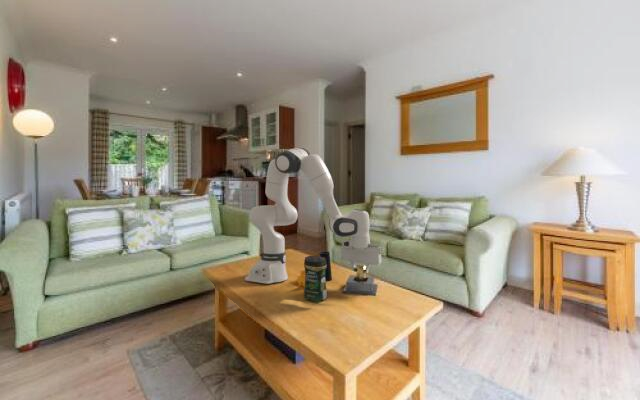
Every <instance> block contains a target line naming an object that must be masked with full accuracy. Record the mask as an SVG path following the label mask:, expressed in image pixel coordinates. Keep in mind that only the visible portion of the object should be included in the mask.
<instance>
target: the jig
mask: <svg viewBox="0 0 640 400" xmlns="http://www.w3.org/2000/svg"><path fill="white" fill-rule="evenodd" d="M377 290H378V284H377V283H375V276H372V275H371V276H370V275H369V276H368V275H366V277H365V281H356V275H354V274H353V275H352V274H350V275H349V276H348V278H347V280H346V283H345V286H344V288H343V289H342V293H344V294H354V295H355V294H356V295H365V296H376V295H377V292H378V291H377Z"/></svg>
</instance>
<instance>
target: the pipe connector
mask: <svg viewBox="0 0 640 400" xmlns="http://www.w3.org/2000/svg"><path fill="white" fill-rule="evenodd" d="M319 254H320V255H319V257H325V258H326V263H327V267H326V271H325V278H326V282H331V281H332V280H333V276H332V267H331V266H332V265H331V264H332V263H331V255H330V251H326V250H325V251H321V252H319Z"/></svg>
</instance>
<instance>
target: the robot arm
mask: <svg viewBox="0 0 640 400" xmlns="http://www.w3.org/2000/svg"><path fill="white" fill-rule="evenodd" d="M266 171H267V172H266V180H265V190H264V191H265V192H264V193H265V195H266V197H267V198H268V199H269V200H271V201H272V202H273V201H274V203H275V204H271V205H270V204H269V205H258V206H254V207H252V208H251V209H250V210H249V214H248V220H249V222H250V223H251V225H253V227H255V228H256V229H258V231H259V232H260V234H261V236H262V243H263V251H262V252H261V253H259V257H260V259H259V260H258V261H257V262H255V263H254V264H253V265H252V266H251V267H250V270H249V274H248V275H246V276H245V277H244V280H245V281H247V282H255V283H261V284H266V285H267V284H273V283H280V282H284V281H286V280H288V279H289V276H288V272H287V267H286V260H287V256H286V254H287V253H286V251H285V249H286V248H285V247H286V245H285V244H286V241H285V237H284V235H283V234H281V233H280V232H277V231H276V230H275V228H274V227H280V226H281V227H282V226H283V227H284V226H290V225H293V224H295V223H296V221H297V220H298V215H299V213H298V211H297V208H296V207H295V206H294V205H292V203H291V202H290V200H289V196H288V185H289V177H290V174H295V173H299V172H301V173H302V174H303V175H304V177H305V178H306V180H307V182H308V185H309V187H310V188H311V190H312V192H313V193H314V194H315V196H316V197H317V198H318V199H319V200H320V202H321V204H322V205H323V207H324V210H325V213H326V214H327V217H328V225H329V229H330V231H331V233H333V234H334V235H336V236H338V237H340V238H346V237H350V236H351V237H350V239H347V240H344V241H341V245H342V246H341V249H340V259H341V261H344V262H350V265H351V267H352V270H353V272H357V266H356V263H357V264H358V263H359V264H364V265H365V266H366V269H364V273H366V274H368V273H369V269H370V268H371V265H373V266H380V265H381V264H382V263H383V262H382V247H381V246H380V245H379V244H372V243H371V239H370V238H371V236H370V228H371V226H370V224H371V222H370V215H369V213H368V211H366V210H364V209H358V208H355V209H354V208H353V209H352V210H351V211H349V212H348V213H345V214H342V213H341V211H340V209H339V207H338V205H337V203H336V199H335V198H334V197H335V196H334V187H335V186H334V180H333V177H332V175H331V173H330V171H329V168H328V167H327V166H326V163H325V161H324V160H323V159H322V157H321V156H320V155H319V154H316V153H310V151H309V150H307V149H306V148H302V147H294V148H290V149H287V150H282V151H281V152H279V153H278V154H277V155H276V157H275V158H274V159H272V160H271V161H270V162H269V163H268V168H267V170H266Z"/></svg>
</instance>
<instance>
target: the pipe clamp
mask: <svg viewBox="0 0 640 400" xmlns="http://www.w3.org/2000/svg"><path fill="white" fill-rule="evenodd" d="M299 273H300V276H297V277H296V281H297V284H298V287H303V288H304V289H305V269H300V272H299Z"/></svg>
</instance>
